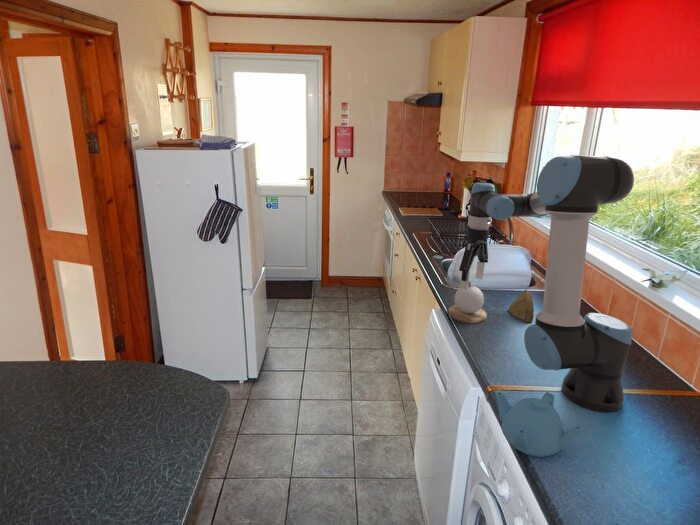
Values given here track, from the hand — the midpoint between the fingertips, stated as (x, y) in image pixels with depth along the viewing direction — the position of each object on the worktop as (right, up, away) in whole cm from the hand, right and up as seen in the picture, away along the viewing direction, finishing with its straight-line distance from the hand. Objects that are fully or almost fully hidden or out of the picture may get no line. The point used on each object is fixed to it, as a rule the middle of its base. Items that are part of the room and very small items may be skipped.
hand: (471, 283), depth 170 cm
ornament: (-1, -11, +4) cm, 12 cm away
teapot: (-2, -35, -59) cm, 69 cm away
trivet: (-1, -12, +5) cm, 13 cm away
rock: (+19, -13, +5) cm, 24 cm away
